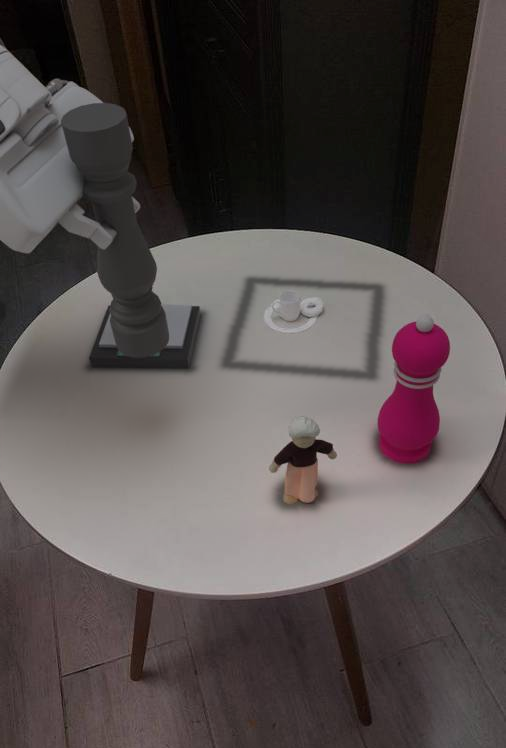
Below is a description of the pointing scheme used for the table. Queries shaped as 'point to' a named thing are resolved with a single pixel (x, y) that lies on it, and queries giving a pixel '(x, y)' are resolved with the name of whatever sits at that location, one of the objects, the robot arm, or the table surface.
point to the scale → (172, 356)
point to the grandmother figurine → (302, 460)
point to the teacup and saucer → (294, 310)
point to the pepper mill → (413, 392)
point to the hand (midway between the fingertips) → (123, 228)
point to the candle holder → (118, 226)
